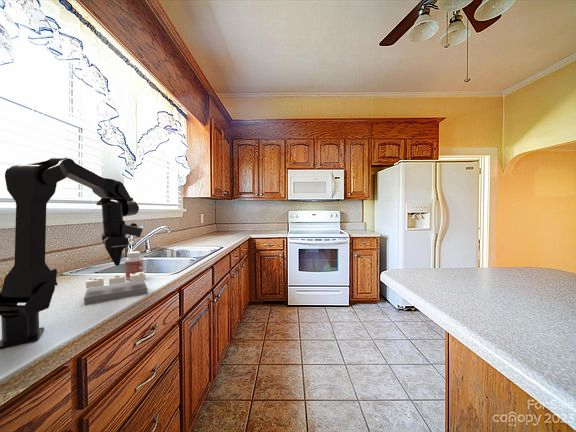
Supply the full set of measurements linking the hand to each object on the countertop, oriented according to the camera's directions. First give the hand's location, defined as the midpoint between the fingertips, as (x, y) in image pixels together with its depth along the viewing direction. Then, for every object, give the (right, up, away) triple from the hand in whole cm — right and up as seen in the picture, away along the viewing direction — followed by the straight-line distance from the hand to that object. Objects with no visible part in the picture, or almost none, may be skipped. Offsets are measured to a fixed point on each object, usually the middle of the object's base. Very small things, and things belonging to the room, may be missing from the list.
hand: (116, 262), depth 85 cm
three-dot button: (-4, -7, -4) cm, 9 cm away
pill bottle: (-6, -11, +20) cm, 23 cm away
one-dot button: (0, -7, 0) cm, 7 cm away
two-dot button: (+5, -7, +3) cm, 9 cm away
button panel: (0, -11, 0) cm, 11 cm away
